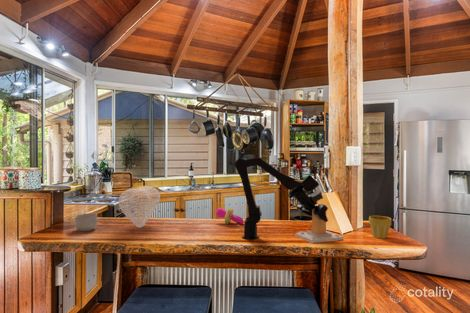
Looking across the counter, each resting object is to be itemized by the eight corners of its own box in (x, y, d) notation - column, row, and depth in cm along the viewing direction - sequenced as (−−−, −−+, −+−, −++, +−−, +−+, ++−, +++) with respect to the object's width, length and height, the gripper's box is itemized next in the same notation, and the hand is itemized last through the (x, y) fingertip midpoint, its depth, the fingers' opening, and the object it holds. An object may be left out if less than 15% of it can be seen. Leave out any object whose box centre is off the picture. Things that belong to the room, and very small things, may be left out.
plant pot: (389, 240, 151) (390, 220, 151) (366, 237, 157) (367, 217, 157) (392, 236, 160) (392, 217, 160) (370, 233, 165) (370, 214, 165)
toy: (238, 228, 176) (245, 211, 179) (210, 217, 181) (217, 200, 184) (241, 231, 185) (247, 215, 188) (213, 220, 190) (220, 204, 193)
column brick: (317, 236, 152) (318, 209, 152) (311, 234, 157) (312, 207, 156) (325, 235, 154) (326, 208, 154) (319, 233, 158) (320, 206, 158)
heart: (140, 234, 156) (140, 190, 156) (112, 232, 160) (112, 189, 159) (164, 222, 184) (164, 185, 184) (139, 221, 187) (140, 184, 187)
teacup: (96, 231, 162) (96, 216, 162) (73, 233, 158) (73, 217, 158) (97, 225, 175) (97, 211, 175) (76, 227, 171) (76, 212, 171)
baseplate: (311, 243, 145) (311, 237, 145) (295, 235, 158) (295, 230, 158) (343, 239, 152) (343, 234, 152) (324, 232, 165) (325, 227, 165)
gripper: (324, 188, 145) (343, 210, 149) (302, 184, 162) (319, 204, 166) (310, 205, 142) (329, 228, 146) (288, 200, 159) (306, 220, 164)
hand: (321, 219), depth 156 cm, fingers open, 9 cm apart
